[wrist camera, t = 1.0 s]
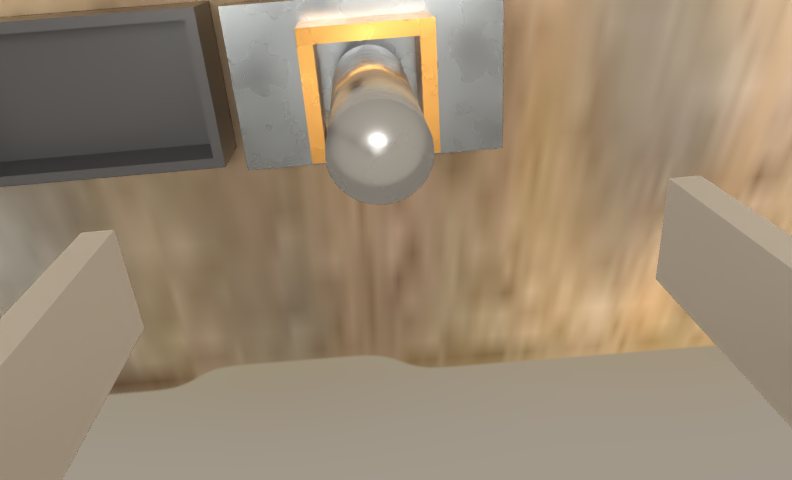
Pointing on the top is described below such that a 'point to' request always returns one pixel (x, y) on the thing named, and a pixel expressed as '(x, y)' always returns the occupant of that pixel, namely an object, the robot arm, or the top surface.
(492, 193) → the top surface
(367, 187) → the pin
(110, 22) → the pin tray
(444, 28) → the plate with orange frame
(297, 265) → the top surface
